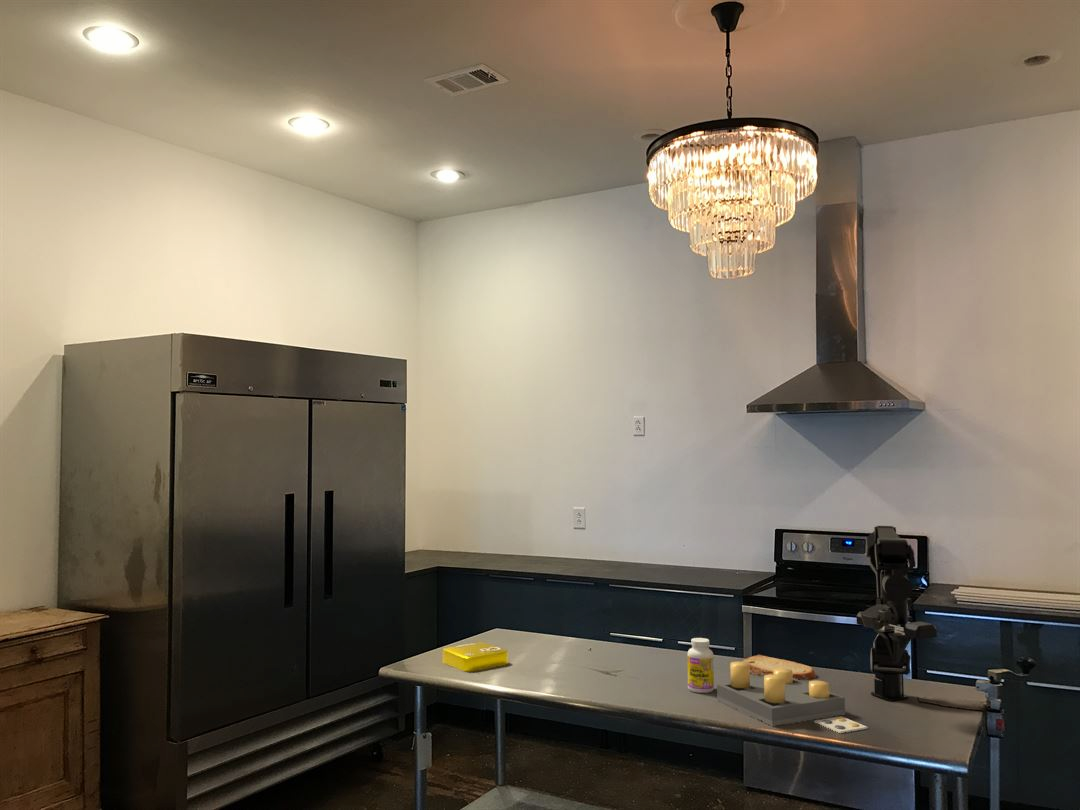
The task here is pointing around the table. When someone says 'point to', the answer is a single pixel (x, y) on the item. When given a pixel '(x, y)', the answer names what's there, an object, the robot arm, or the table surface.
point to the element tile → (475, 656)
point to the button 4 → (819, 689)
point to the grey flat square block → (789, 711)
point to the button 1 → (740, 674)
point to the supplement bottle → (700, 666)
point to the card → (841, 724)
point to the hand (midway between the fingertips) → (896, 662)
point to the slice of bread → (768, 664)
